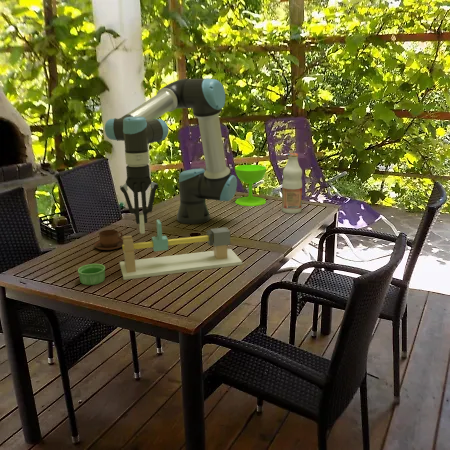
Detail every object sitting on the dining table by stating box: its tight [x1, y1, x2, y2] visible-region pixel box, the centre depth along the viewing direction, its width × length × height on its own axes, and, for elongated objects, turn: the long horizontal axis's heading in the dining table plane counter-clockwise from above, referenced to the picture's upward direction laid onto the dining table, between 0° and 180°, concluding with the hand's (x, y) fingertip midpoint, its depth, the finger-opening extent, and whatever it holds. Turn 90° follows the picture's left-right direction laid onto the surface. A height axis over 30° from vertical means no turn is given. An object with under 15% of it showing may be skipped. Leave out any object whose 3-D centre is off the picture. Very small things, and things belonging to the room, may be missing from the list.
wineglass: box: [234, 164, 267, 207], centre depth 261 cm, size 16×16×18 cm
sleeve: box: [151, 219, 169, 252], centre depth 177 cm, size 5×5×10 cm
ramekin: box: [77, 263, 106, 286], centre depth 170 cm, size 9×9×4 cm
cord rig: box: [119, 226, 243, 281], centre depth 181 cm, size 14×42×12 cm, turn 106°
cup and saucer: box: [93, 229, 124, 251], centre depth 201 cm, size 12×12×6 cm
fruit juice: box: [281, 152, 303, 215], centre depth 242 cm, size 9×9×28 cm
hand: (142, 232), depth 175 cm, fingers closed
